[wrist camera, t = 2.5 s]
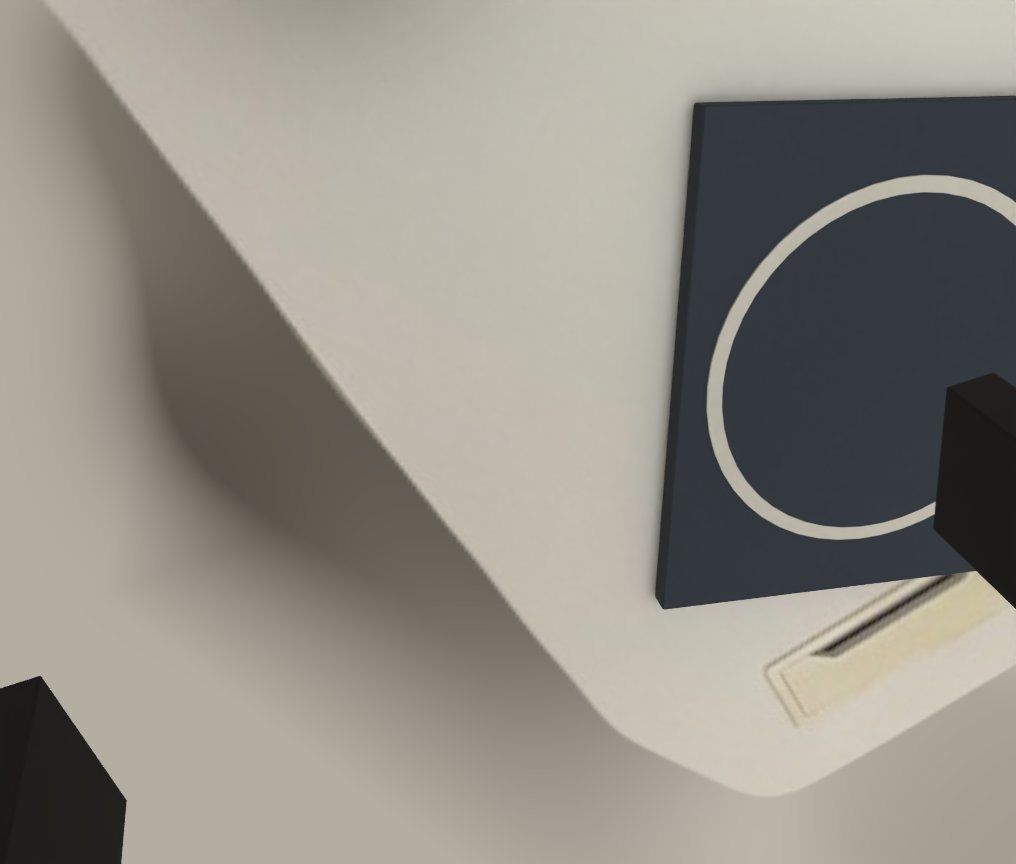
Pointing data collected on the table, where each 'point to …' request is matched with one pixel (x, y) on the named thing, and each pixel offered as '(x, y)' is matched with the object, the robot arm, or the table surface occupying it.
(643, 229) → the table surface
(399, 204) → the table surface
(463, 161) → the table surface
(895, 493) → the desk pad
